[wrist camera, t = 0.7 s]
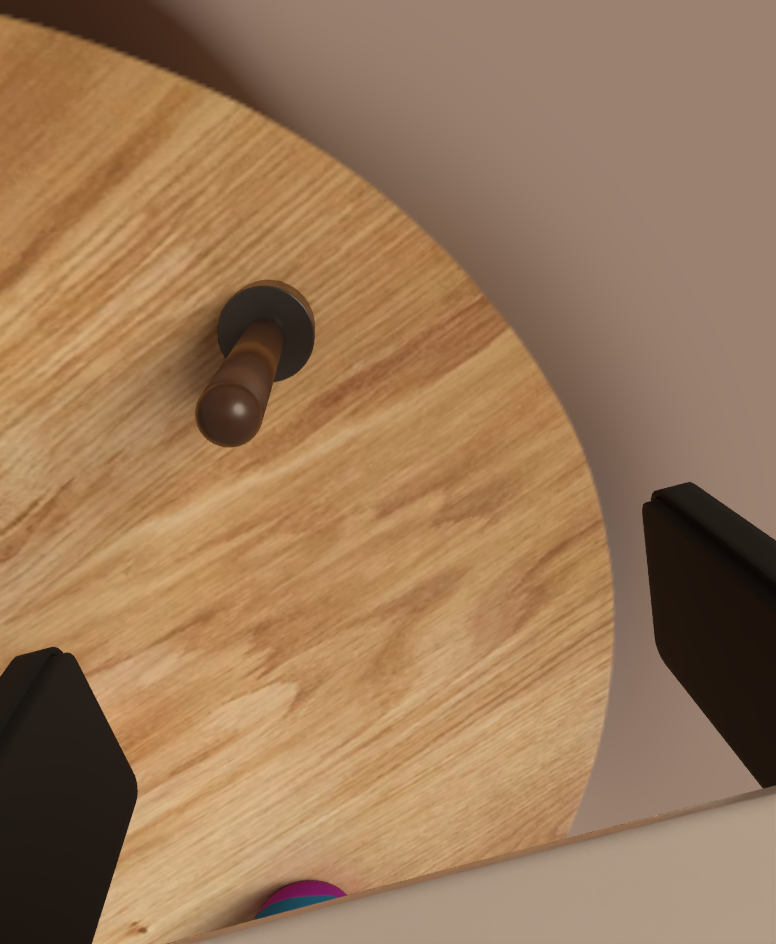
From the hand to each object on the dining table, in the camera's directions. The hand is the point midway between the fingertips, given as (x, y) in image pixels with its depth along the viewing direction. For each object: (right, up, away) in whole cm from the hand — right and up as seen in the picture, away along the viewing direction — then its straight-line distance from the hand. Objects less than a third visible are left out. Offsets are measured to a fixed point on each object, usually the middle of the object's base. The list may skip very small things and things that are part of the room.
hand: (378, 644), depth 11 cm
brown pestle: (-5, +9, +20) cm, 22 cm away
